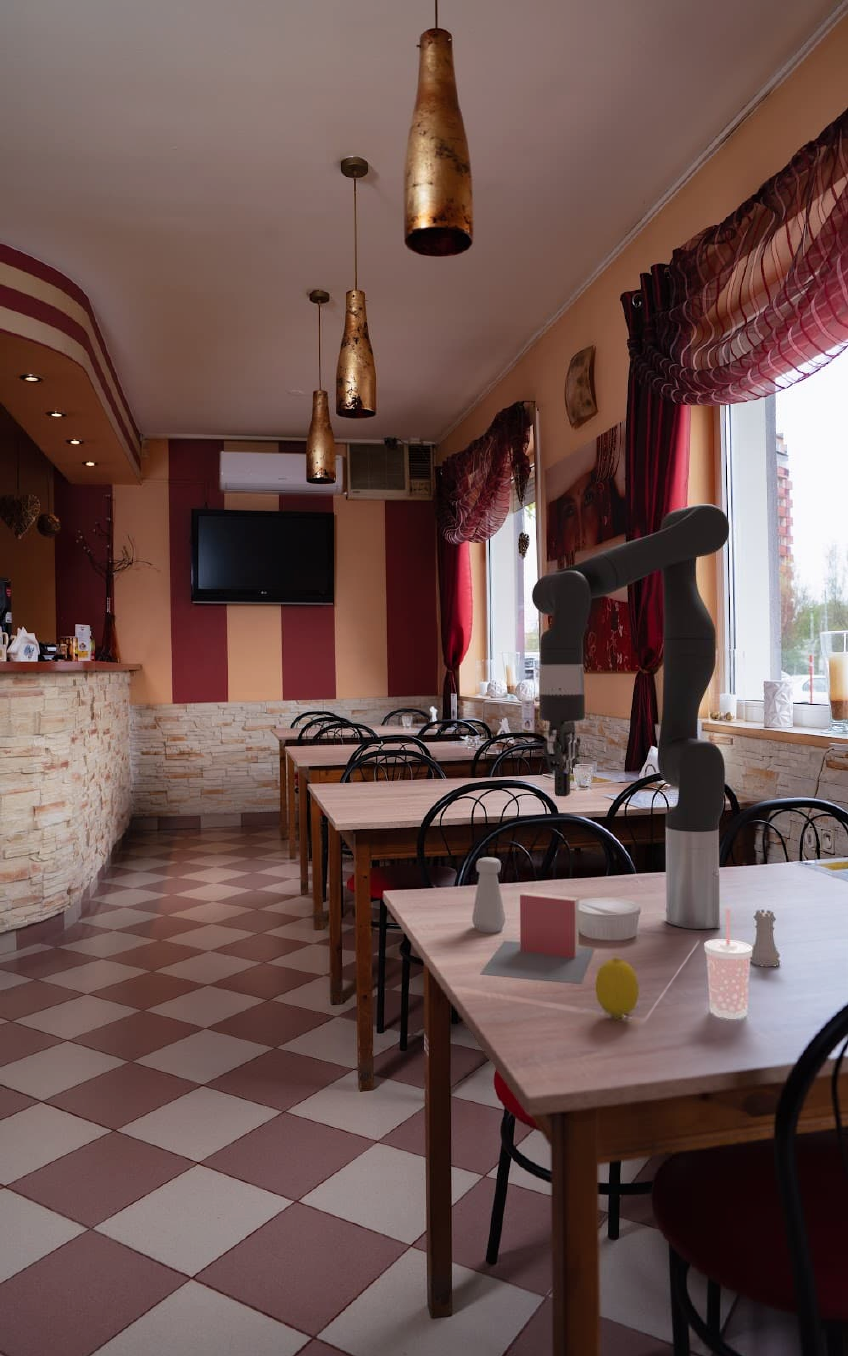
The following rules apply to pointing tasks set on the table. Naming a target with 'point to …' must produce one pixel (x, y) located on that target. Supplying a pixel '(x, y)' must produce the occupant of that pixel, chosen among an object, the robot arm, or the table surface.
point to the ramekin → (608, 918)
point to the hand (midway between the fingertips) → (562, 795)
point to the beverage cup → (728, 975)
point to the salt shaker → (488, 897)
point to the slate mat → (537, 964)
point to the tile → (549, 924)
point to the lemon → (617, 987)
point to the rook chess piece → (765, 940)
